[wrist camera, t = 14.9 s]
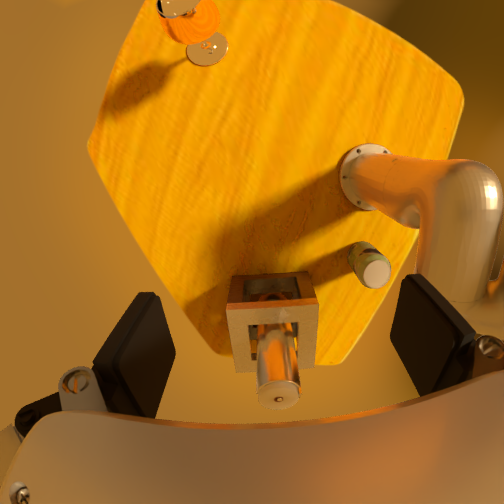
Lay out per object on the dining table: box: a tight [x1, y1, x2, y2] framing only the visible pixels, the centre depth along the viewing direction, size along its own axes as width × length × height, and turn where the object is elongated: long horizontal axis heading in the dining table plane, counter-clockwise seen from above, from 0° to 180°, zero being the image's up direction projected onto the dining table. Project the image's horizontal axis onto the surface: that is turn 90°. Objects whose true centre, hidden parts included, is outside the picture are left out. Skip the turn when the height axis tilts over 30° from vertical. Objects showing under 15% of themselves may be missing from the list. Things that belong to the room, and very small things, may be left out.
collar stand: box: [226, 271, 319, 372], centre depth 51 cm, size 15×15×12 cm
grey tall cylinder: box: [256, 293, 302, 410], centre depth 45 cm, size 6×6×25 cm
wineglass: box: [156, 0, 228, 66], centre depth 28 cm, size 8×8×20 cm
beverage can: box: [347, 241, 391, 288], centre depth 46 cm, size 6×7×12 cm
